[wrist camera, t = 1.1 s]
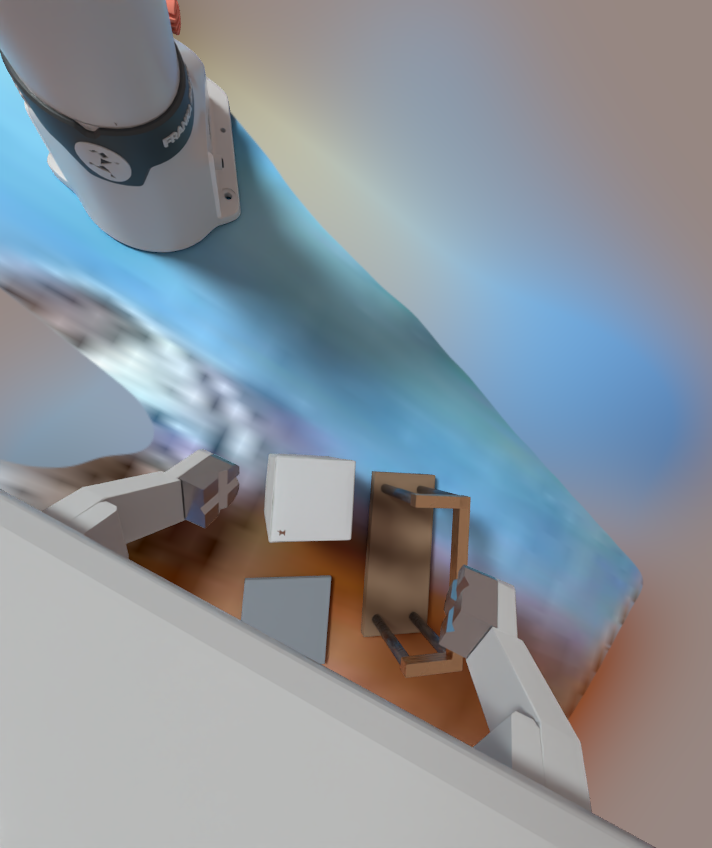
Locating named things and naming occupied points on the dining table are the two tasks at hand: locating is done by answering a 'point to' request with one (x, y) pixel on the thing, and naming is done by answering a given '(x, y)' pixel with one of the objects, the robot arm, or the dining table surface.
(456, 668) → the wooden post stand
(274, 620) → the mat
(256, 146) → the dining table surface
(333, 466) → the supplement box
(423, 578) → the brown board
